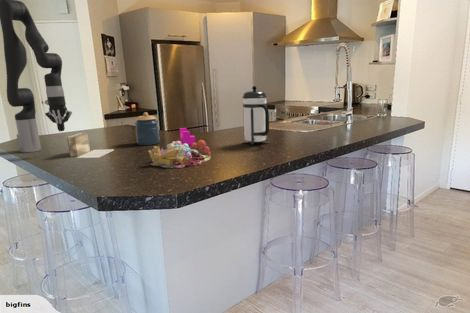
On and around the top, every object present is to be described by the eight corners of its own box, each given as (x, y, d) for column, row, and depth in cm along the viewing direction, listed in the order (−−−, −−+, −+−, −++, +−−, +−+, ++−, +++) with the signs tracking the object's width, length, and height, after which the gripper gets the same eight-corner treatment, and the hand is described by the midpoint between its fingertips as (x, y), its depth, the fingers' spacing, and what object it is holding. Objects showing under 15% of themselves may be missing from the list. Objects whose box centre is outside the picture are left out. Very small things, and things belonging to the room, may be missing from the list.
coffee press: (237, 145, 174) (234, 86, 168) (247, 139, 189) (245, 85, 182) (268, 146, 168) (268, 86, 161) (277, 140, 182) (276, 84, 175)
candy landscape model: (191, 171, 130) (189, 148, 128) (140, 168, 138) (138, 146, 136) (216, 156, 153) (215, 137, 151) (171, 154, 161) (169, 135, 159)
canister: (164, 141, 192) (162, 111, 188) (148, 146, 181) (144, 113, 177) (149, 140, 199) (146, 110, 195) (131, 144, 188) (128, 113, 184)
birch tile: (70, 157, 162) (66, 136, 160) (82, 151, 174) (79, 132, 172) (77, 156, 162) (74, 136, 160) (90, 151, 174) (87, 132, 171)
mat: (75, 158, 159) (75, 157, 159) (94, 150, 176) (94, 149, 176) (98, 158, 158) (98, 157, 158) (114, 149, 175) (114, 149, 175)
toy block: (195, 144, 181) (194, 131, 179) (183, 145, 180) (182, 132, 178) (191, 140, 195) (190, 127, 194) (180, 141, 194) (179, 128, 192)
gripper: (37, 96, 159) (44, 132, 163) (64, 95, 158) (70, 131, 162) (47, 96, 166) (53, 130, 170) (72, 94, 165) (78, 129, 169)
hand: (61, 130), depth 166 cm, fingers closed
